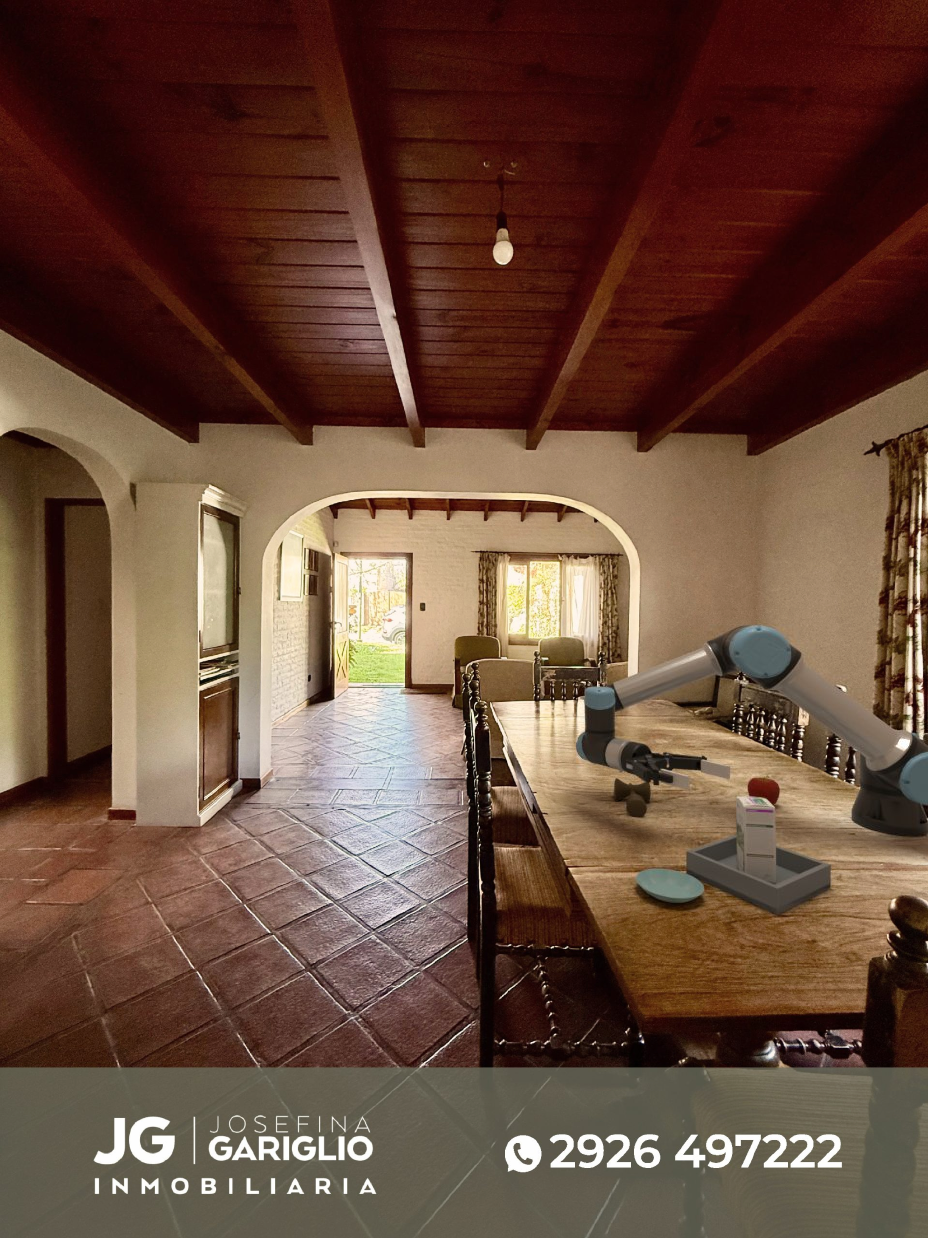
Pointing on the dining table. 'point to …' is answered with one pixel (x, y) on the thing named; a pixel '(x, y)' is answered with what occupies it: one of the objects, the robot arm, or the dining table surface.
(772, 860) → the syrup box
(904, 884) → the dining table surface
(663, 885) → the saucer
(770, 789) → the apple
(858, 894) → the dining table surface
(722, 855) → the tray
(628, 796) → the kendama
